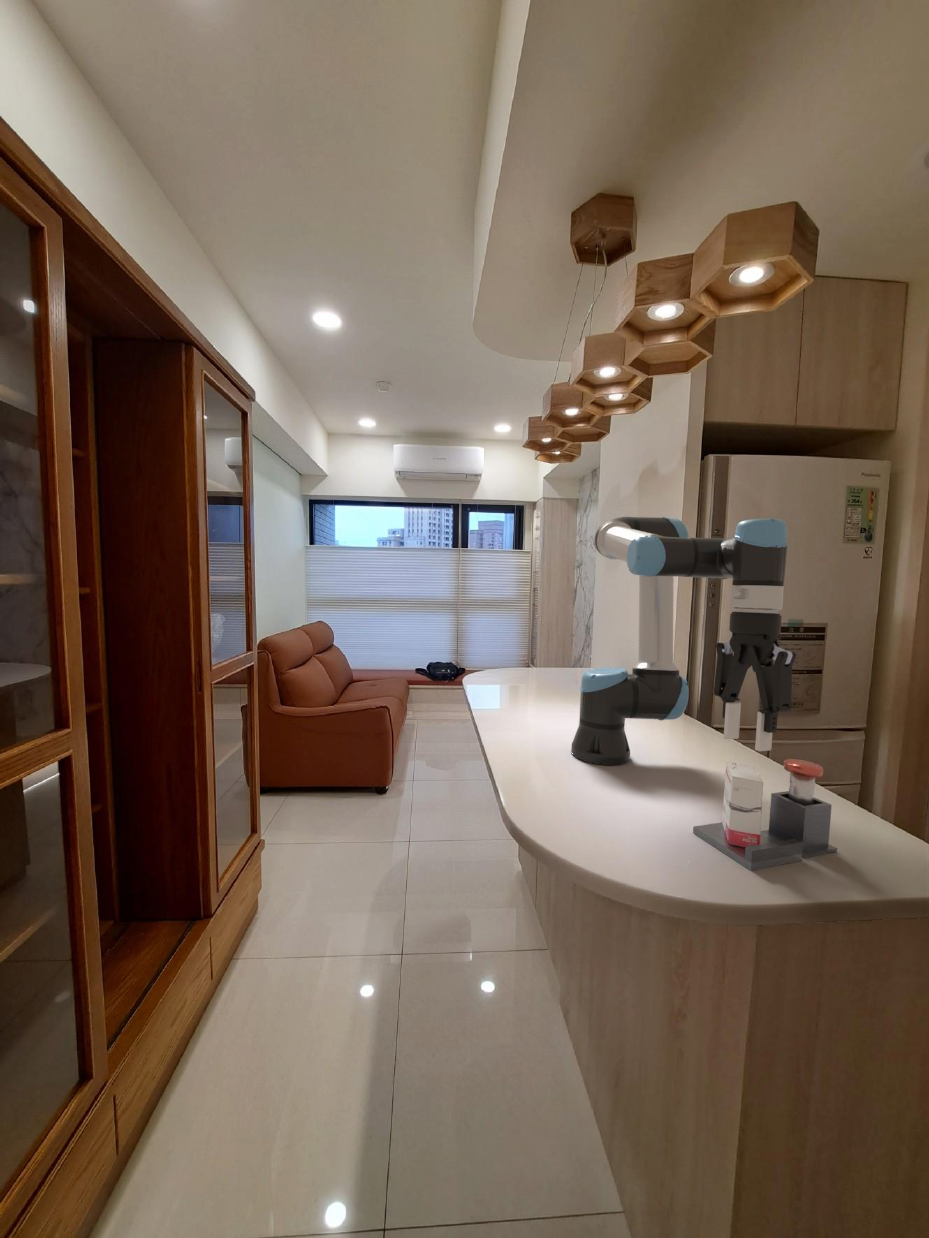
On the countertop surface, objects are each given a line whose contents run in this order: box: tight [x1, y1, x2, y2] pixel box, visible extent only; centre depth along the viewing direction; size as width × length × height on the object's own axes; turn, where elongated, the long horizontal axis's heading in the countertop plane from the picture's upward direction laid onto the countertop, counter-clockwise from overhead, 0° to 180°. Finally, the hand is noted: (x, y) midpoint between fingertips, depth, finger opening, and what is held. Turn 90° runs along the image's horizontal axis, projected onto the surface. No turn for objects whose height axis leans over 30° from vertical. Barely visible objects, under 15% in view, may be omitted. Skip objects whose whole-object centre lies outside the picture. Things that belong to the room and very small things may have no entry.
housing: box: [761, 790, 838, 859], centre depth 83 cm, size 8×8×8 cm
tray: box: [692, 821, 803, 871], centre depth 82 cm, size 12×11×3 cm
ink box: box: [721, 761, 764, 847], centre depth 83 cm, size 9×5×12 cm, turn 157°
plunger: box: [783, 758, 824, 806], centre depth 83 cm, size 6×6×9 cm
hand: (746, 743), depth 82 cm, fingers open, 6 cm apart
